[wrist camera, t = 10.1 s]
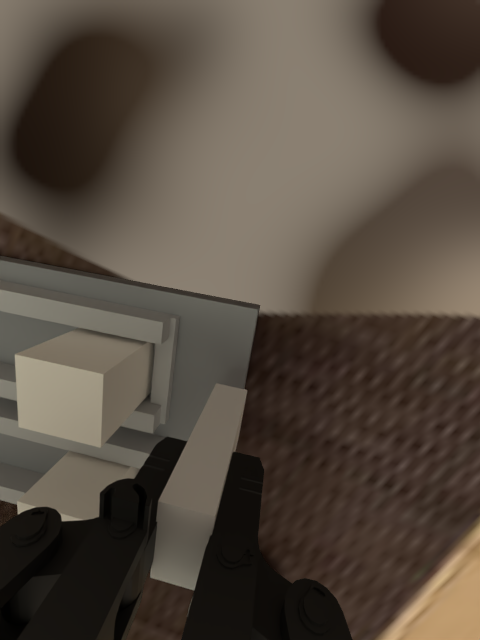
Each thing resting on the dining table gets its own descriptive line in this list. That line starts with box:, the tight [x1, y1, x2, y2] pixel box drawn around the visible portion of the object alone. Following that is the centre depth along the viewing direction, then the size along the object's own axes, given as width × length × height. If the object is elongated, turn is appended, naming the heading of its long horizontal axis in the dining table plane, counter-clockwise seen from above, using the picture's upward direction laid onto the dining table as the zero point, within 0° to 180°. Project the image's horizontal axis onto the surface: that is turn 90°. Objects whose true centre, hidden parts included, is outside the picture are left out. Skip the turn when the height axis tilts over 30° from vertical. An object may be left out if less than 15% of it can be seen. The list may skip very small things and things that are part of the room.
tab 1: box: [15, 328, 155, 448], centre depth 15 cm, size 4×4×5 cm
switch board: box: [0, 256, 260, 504], centre depth 19 cm, size 25×17×3 cm
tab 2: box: [17, 451, 139, 521], centre depth 17 cm, size 4×4×5 cm
